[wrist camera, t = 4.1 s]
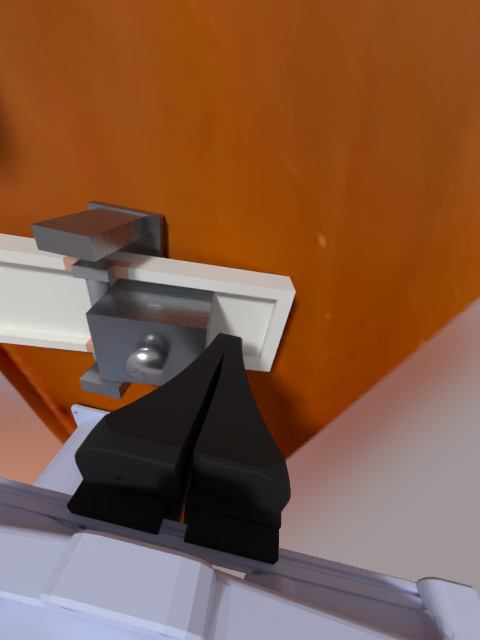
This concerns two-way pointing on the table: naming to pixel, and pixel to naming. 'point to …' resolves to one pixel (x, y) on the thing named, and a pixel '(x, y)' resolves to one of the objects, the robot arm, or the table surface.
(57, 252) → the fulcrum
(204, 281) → the beam
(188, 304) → the block
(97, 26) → the table surface
